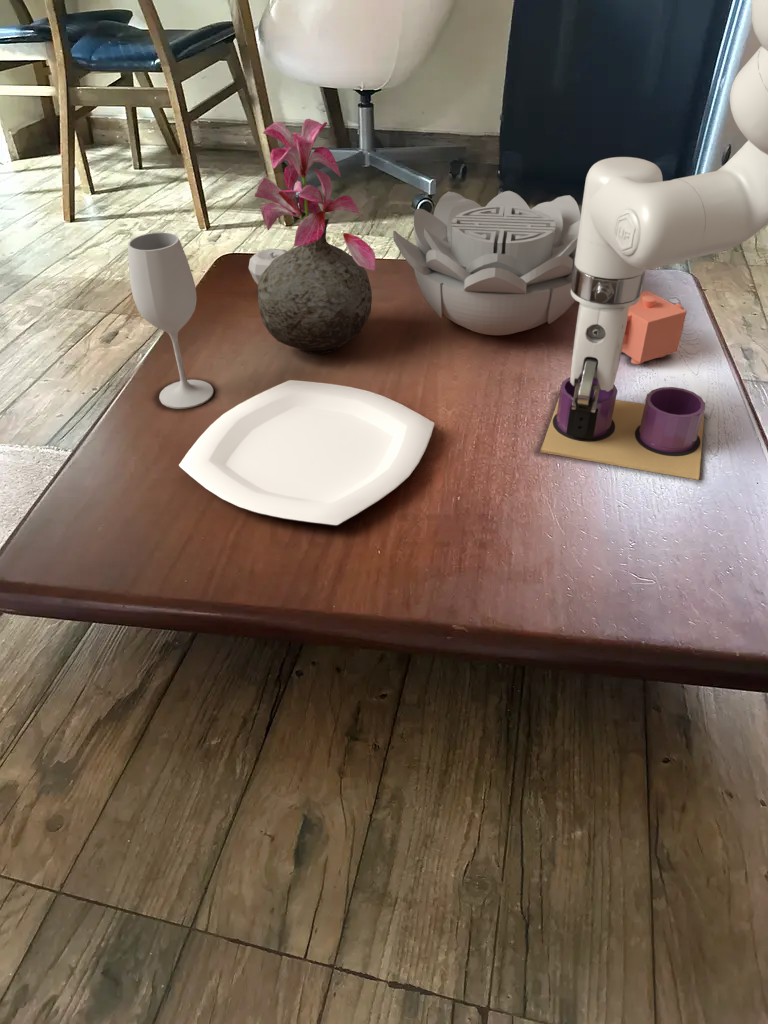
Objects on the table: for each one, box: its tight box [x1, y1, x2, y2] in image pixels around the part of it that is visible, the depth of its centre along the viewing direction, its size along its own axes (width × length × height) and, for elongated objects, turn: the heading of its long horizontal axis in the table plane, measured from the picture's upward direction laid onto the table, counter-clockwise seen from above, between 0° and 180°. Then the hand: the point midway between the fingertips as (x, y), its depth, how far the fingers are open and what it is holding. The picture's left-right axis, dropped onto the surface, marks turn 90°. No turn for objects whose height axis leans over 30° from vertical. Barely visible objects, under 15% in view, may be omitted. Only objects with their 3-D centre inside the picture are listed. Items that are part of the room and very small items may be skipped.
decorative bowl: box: [392, 190, 581, 336], centre depth 115 cm, size 30×30×15 cm
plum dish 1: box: [556, 376, 618, 438], centre depth 95 cm, size 7×7×5 cm
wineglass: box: [127, 231, 214, 410], centre depth 99 cm, size 8×8×21 cm
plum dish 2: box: [639, 386, 706, 453], centre depth 93 cm, size 7×7×5 cm
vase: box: [254, 118, 377, 355], centre depth 107 cm, size 17×17×30 cm
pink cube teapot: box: [621, 290, 687, 365], centre depth 109 cm, size 8×12×8 cm, turn 116°
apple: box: [248, 248, 288, 286], centre depth 129 cm, size 8×8×7 cm
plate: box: [178, 379, 435, 527], centre depth 93 cm, size 27×27×2 cm
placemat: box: [540, 398, 705, 481], centre depth 96 cm, size 18×14×1 cm
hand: (584, 418), depth 97 cm, fingers closed on plum dish 1, 6 cm apart
